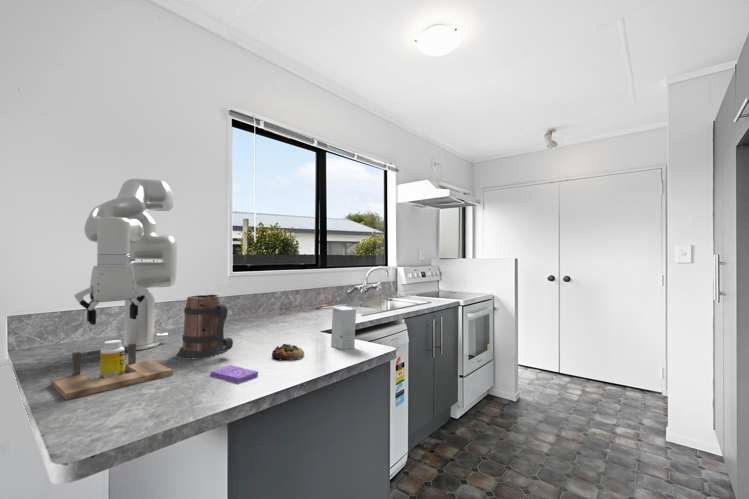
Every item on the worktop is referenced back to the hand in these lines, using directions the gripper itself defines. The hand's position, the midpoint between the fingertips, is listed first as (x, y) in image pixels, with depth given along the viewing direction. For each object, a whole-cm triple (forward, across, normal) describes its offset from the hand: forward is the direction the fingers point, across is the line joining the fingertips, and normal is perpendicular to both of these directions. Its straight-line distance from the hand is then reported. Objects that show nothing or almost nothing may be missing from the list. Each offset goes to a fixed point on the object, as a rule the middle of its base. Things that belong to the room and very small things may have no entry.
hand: (113, 321), depth 104 cm
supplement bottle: (+16, 0, +1) cm, 16 cm away
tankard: (+17, -29, -4) cm, 34 cm away
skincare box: (+16, -66, +26) cm, 73 cm away
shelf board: (+16, +1, +3) cm, 16 cm away
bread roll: (+16, -45, +21) cm, 52 cm away
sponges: (+16, -22, +25) cm, 37 cm away
